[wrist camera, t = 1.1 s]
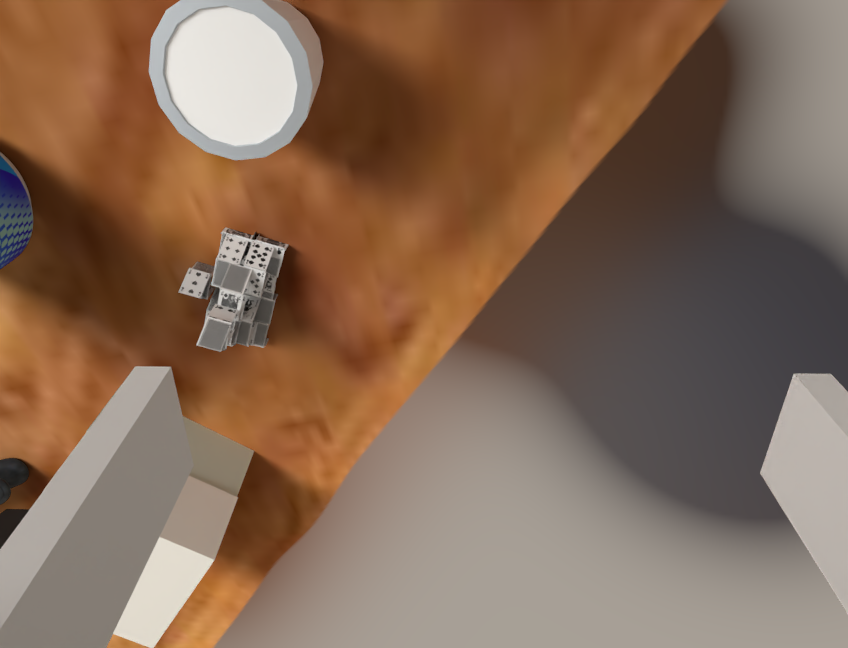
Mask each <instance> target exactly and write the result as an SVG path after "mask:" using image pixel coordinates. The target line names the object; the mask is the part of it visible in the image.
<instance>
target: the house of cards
mask: <svg viewBox="0 0 848 648" xmlns="http://www.w3.org/2000/svg"><path fill="white" fill-rule="evenodd" d="M220 234H222V238H221V243H220V249H219V253H218V256H217V258H215V259H216V262H215V267H214V266H211V265H207V264H204V263H200V262H196V263H195V265H194V266H193V267H192V268H189V269H188V271H187V274H186V276H185V278H184V280H183V283H182V285H181V287H180V289H179V292H178V293H182V294H186V295H189V296H193V297H196V298H200V299H207V300H208V298H209V296H210V295H211V293H212V292H213V290H214V289H215V291H214V293H213V295H212V298H211V300H210V303H209V305H208V308H207V310H206V317H205V323H204V327H203V329H202V332H201V334H200V337H199V339H198V342H197V344H196V345H197V346H201V347H204V348H208V349H212V350H215V351H219V352H221V351H224V350H226V348H227V346H234V345H236V343H237V344H241V345H245V346H248V347H249V345H252V346H253V345H255V346H259V347H262V348H264V346H266V344H267V342H268V340H269V339H268V338H266V335H267V331H268V327H269V325H268V324H270V322H271V318H272V314H273V309H274V305H275V300H276V298H277V296H278V294H276V293H274V291H275V287H276V285H275V284H276V280H277V278H278V275H279V271H280V267H281V265H282V261H283V256H284V252H285V251H286V249H287V247H288V244H284V243H281V242H278V241H274V240H271V239H268V238H264V237H261V236H259V235H260V234H259V235H258V237H257V238H256V240H254V238H255V234H256V232H255V234H254V235H249V234H246V233H243V232H239V231H236V230H233V229H229V228H226V227H225V228H224V229H223V231H222V232H221V233H220ZM212 276H213V279H212V282H211V277H212ZM210 282H211V284H210ZM210 285H211V286H215V287H216V288H215V287H211V286H210Z"/></svg>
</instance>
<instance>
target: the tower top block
mask: <svg viewBox="0 0 848 648" xmlns="http://www.w3.org/2000/svg"><path fill="white" fill-rule="evenodd" d="M86 433H87V432H86ZM83 437H84V436H83ZM80 441H81V440H80ZM77 445H78V444H77ZM74 449H75V448H74ZM71 453H72V452H71ZM69 456H70V455H69ZM69 456H68V457H69ZM66 460H67V459H66ZM66 460H65V461H66ZM63 464H64V463H63ZM63 464H62V465H63ZM60 468H61V467H60ZM60 468H59V469H60ZM57 472H58V471H57ZM57 472H56V473H57ZM54 476H55V475H54ZM52 479H53V478H52ZM52 479H51V480H52ZM49 483H50V482H49ZM49 483H48V484H49ZM46 487H47V486H46ZM46 487H45V488H46ZM237 499H238V497H236V496H234V495H231V494H229V493H227V492H225V491H222V490H220V489H218V488H216V487H214V486H211V485H209V484H207V483H205V482H202V481H200V480H198V479H196V478H194V477H191V476H188V479H187V481H186V483H185V485H184V487H183V489H182V491H181V493H180V495H179V497H178V499H177V501H176V503H175V506H174V508H173V510H172V512H171V514H170V516H169V518H168V520H167V522H166V524H165V526H164V528H163V531H162V533H161V535H160V537H159V539H158V541H157V543H156V545H155V547H154V549H153V551H152V553H151V556H150V558H149V560H148V562H147V564H146V566H145V568H144V570H143V572H142V574H141V576H140V578H139V581H138V583H137V585H136V587H135V589H134V591H133V593H132V595H131V597H130V599H129V601H128V603H127V605H126V608H125V610H124V612H123V614H122V616H121V618H120V620H119V622H118V624H117V626H116V628H115V630H114V633H113V634H115V635H118V636H120V637H123V638H126V639H128V640H131V641H134V642H136V643H139V644H142V645H144V646H147V647H150V648H154V646H155V645H156V643H157V642H158V641H159V639H160V638H161V636H162V635H163V633H164V632H165V630H166V629H167V628H168V626H169V625H170V623H171V622H172V620H173V619H174V618H175V616H176V615H177V613H178V612H179V610H180V609H181V608H182V606H183V605H184V603H185V602H186V600H187V599H188V597H189V596H190V595H191V593H192V592H193V590H194V589H195V587H196V586H197V585H198V583H199V582H200V580H201V579H202V577H203V576H204V574H205V573H206V572H207V570H208V569H209V567H210V566H211V564H212V563H213V562H214V560H215V558H216V555H217V552H218V550H219V547H220V544H221V542H222V539H223V536H224V534H225V531H226V528H227V526H228V523H229V520H230V518H231V515H232V512H233V510H234V507H235V504H236V502H237Z"/></svg>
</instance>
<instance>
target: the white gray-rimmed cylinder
mask: <svg viewBox="0 0 848 648" xmlns="http://www.w3.org/2000/svg"><path fill="white" fill-rule="evenodd" d="M323 63H324V61H323V56H322V50H321V44H320V39H319V37H318V36H317V34H316V32H315V30H314V29H313V27H312V25H311V24H310V22H309V20H308V18H306V17H305V16H304V15H303V14H302V13H300V12H299V11H298V10H297V9H296V8H294V7H293V6H292V5H291V4H289V3H287V2H284V1H281V0H180V1H179V2H177V3H176V4H175V5H173V6H172V7H170V8H169V9H167V10H166V12H165V14H164V16H163V17H162V19H161V21H160V23H159V25H158V27H157V29H156V31H155V32H154V34H153V36H152V38H151V49H150V63H149V74H150V77H151V81H152V84H153V87H154V91H155V94H156V97H157V100H158V104H159V106H160V107H161V109H162V110H163V111H164V113H165V114H166V115H167V117H168V118H169V120H170V121H171V122H172V124H173V125H174V127H175V128H176V129H177V131H178V132H179V133H180V134H182V135H183V136H184V137H186V138H187V139H189V140H190V141H191V142H193V143H194V144H196V145H197V146H198V147H200V148H201V149H203V150H204V151H205V152H208V153H212V154H215V155H219V156H222V157H226V158H229V159H233V160H244V159H253V158H262V157H266V156H268V155H270V154H271V153H273V152H275V151H276V150H278V149H280V148H282V147H283V146H285V145H287V144H288V143H290V142H291V140H292V139H293V137H294V136H295V134H296V133H297V132H298V130H299V129H300V127H301V126H302V124H303V123H304V121H305V120H306V118H307V116H308V113H309V111H310V108H311V105H312V103H313V100H314V97H315V95H316V92H317V89H318V87H319V84H320V79H321V74H322V68H323Z"/></svg>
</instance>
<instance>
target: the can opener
mask: <svg viewBox="0 0 848 648" xmlns="http://www.w3.org/2000/svg"><path fill="white" fill-rule="evenodd" d="M28 477H29V470H28V468H27V466H26V465H25V464H24V463H23V462H22V461H20V460H18V459H14V458H9V459H3V460H0V504H2V503H4V502H5V501H7V500H8V498H9V497H10V494H11V489H10V488H13V487H15V486H18V485H20V484H22V483H24V482H25V481H26V480H27V479H28Z"/></svg>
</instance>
